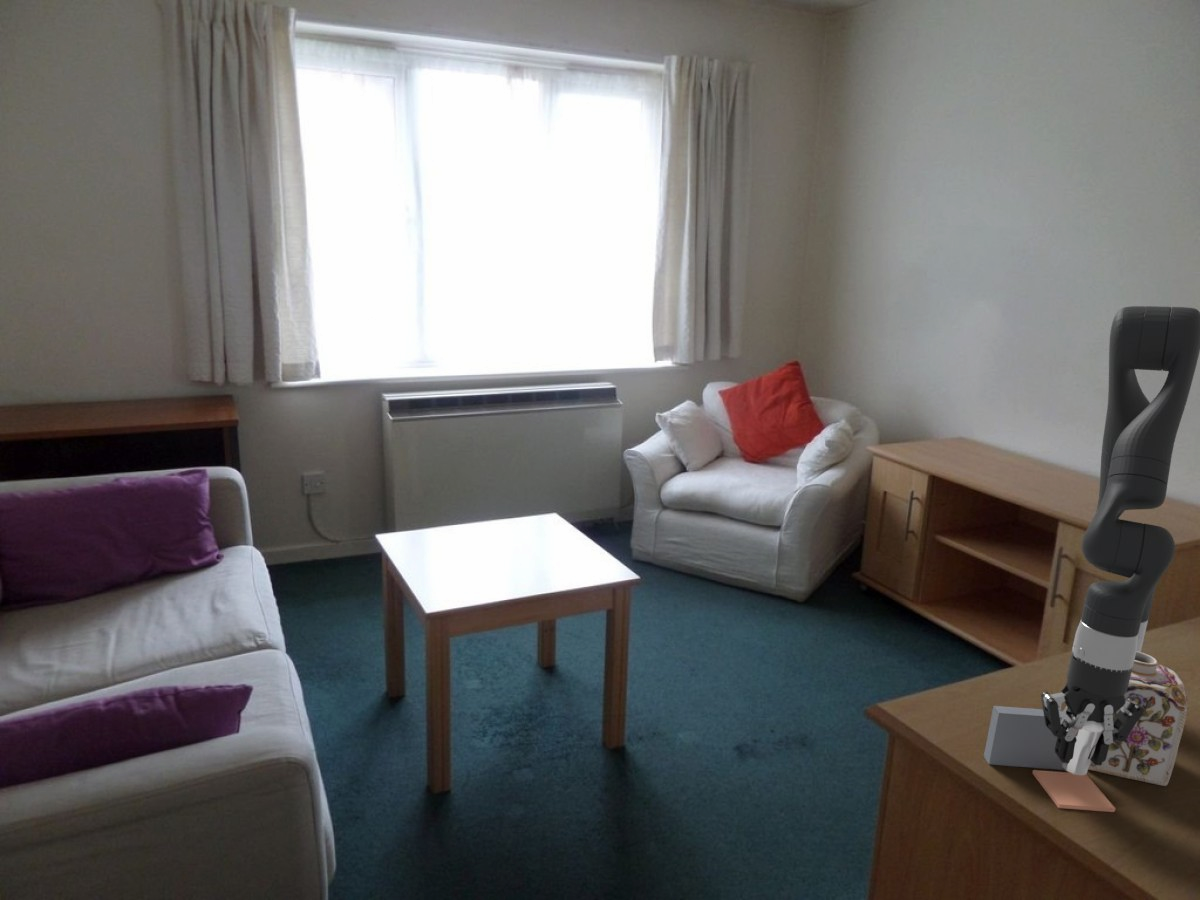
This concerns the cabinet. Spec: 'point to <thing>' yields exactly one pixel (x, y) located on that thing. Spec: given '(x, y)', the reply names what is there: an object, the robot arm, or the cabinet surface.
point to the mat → (1073, 791)
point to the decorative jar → (1150, 725)
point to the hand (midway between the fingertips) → (1078, 760)
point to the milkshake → (1084, 748)
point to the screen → (1021, 739)
